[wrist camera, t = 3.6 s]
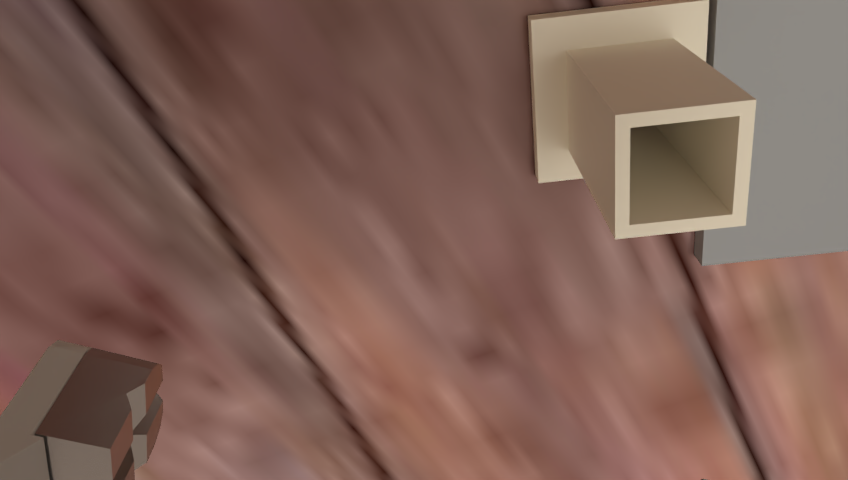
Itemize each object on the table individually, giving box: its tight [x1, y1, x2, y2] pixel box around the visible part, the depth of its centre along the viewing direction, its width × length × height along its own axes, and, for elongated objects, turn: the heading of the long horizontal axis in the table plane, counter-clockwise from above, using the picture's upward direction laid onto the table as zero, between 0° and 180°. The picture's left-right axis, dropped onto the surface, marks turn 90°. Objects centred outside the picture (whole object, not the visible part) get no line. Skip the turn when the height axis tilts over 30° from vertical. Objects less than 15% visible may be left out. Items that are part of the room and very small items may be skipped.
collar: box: [528, 0, 756, 239], centre depth 31 cm, size 8×8×10 cm
